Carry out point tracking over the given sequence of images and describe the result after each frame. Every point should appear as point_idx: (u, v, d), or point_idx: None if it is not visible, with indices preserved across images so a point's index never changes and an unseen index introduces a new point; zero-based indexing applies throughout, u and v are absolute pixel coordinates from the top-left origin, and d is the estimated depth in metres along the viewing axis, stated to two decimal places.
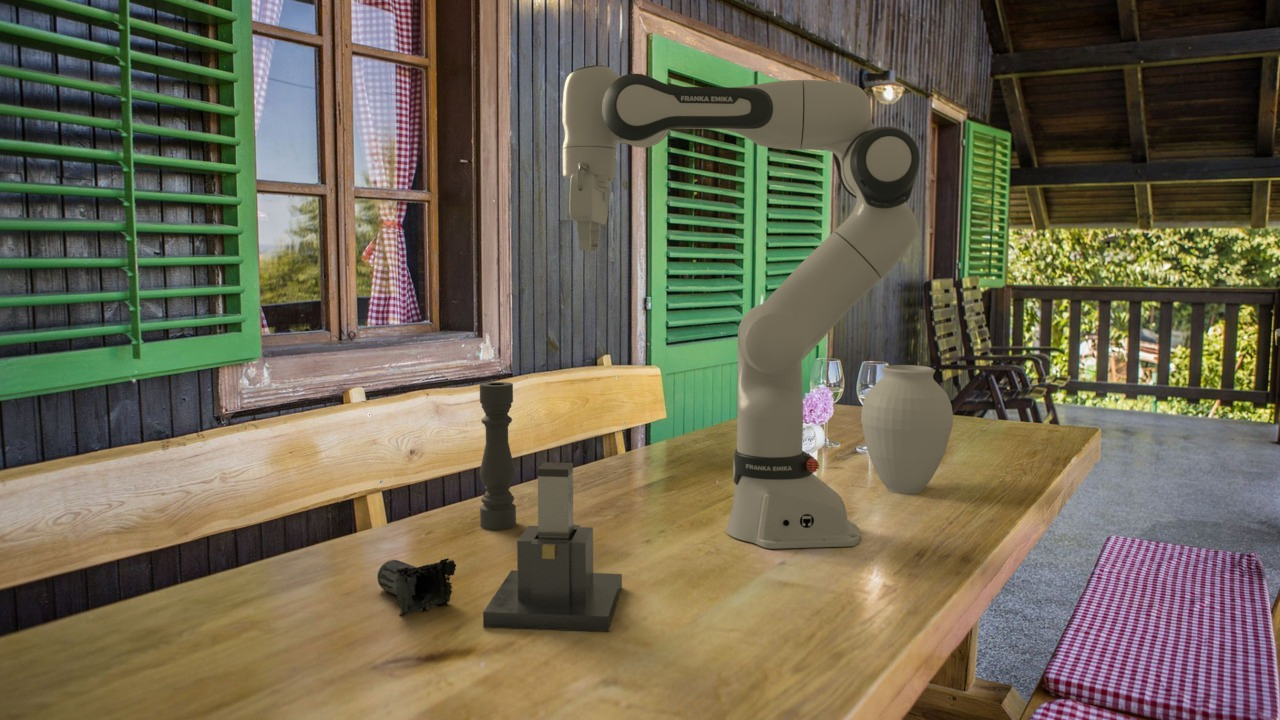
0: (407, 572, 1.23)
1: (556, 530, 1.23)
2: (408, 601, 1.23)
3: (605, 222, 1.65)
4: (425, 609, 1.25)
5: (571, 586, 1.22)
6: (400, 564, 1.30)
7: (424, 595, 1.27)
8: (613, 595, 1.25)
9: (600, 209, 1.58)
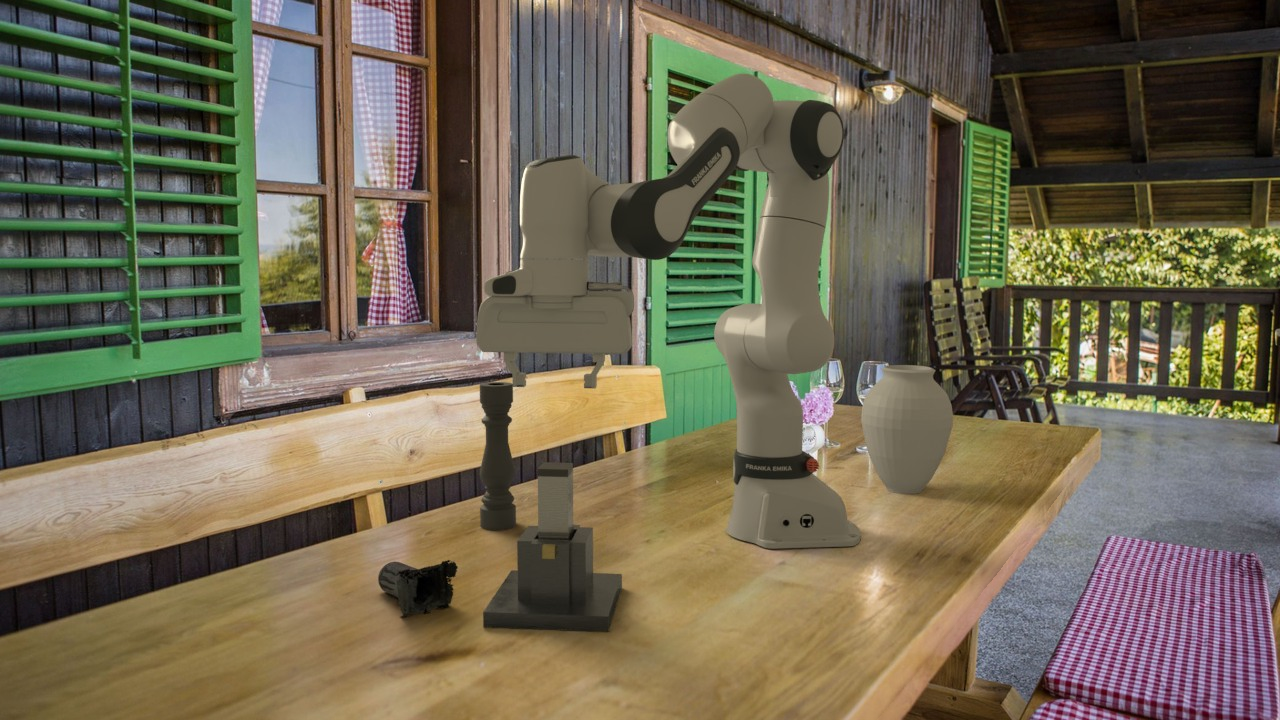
0: (408, 574, 1.22)
1: (556, 530, 1.23)
2: (409, 603, 1.23)
3: None
4: (426, 611, 1.24)
5: (571, 586, 1.22)
6: (401, 566, 1.29)
7: (425, 597, 1.26)
8: (613, 595, 1.25)
9: None
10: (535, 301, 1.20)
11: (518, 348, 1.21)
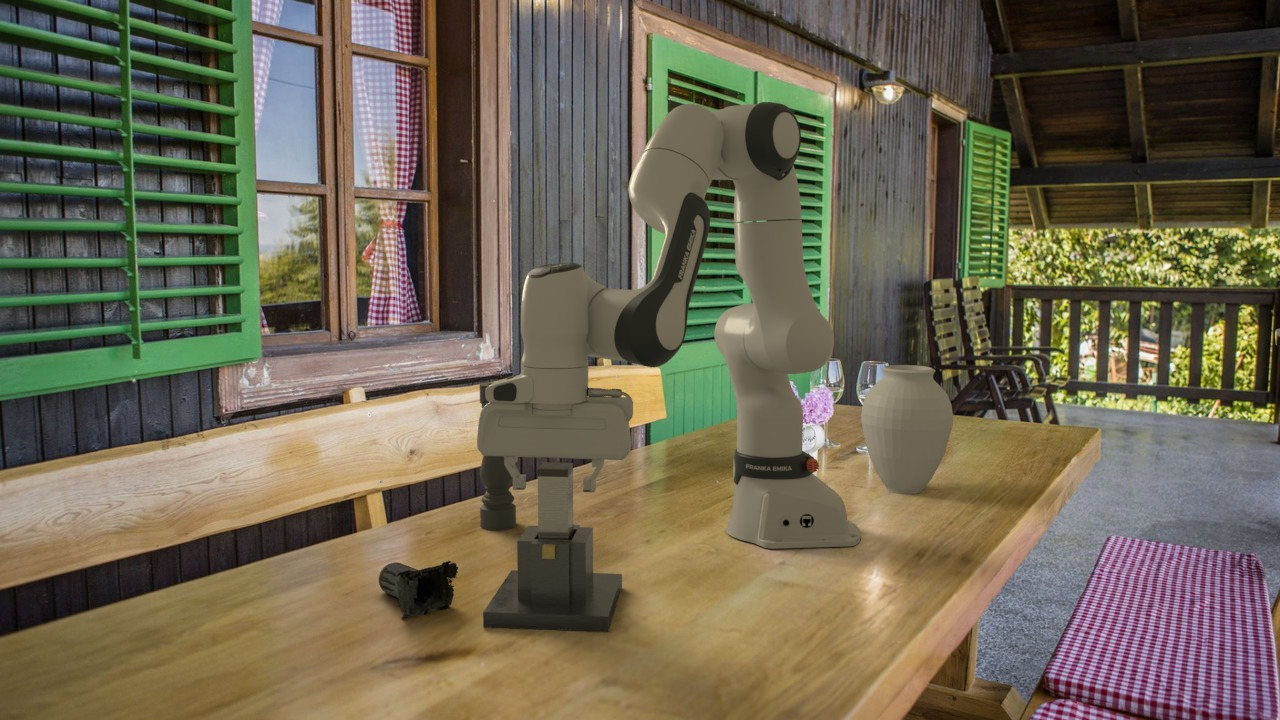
0: (409, 575, 1.22)
1: (556, 530, 1.23)
2: (410, 604, 1.22)
3: None
4: (427, 612, 1.24)
5: (571, 586, 1.22)
6: (401, 567, 1.29)
7: (426, 598, 1.26)
8: (613, 595, 1.25)
9: None
10: (535, 408, 1.21)
11: (518, 453, 1.23)
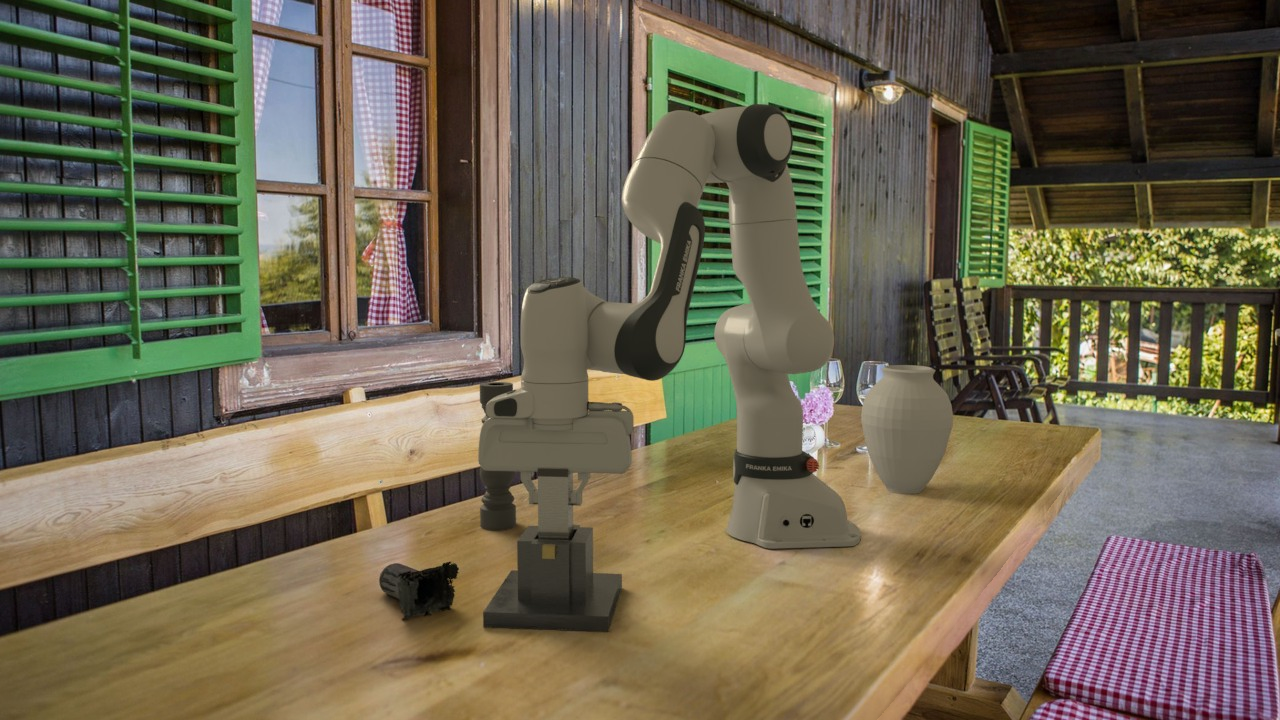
0: (409, 576, 1.22)
1: (556, 530, 1.23)
2: (410, 605, 1.22)
3: None
4: (428, 613, 1.23)
5: (571, 586, 1.22)
6: (402, 567, 1.29)
7: (426, 599, 1.26)
8: (613, 595, 1.25)
9: None
10: (536, 422, 1.22)
11: (519, 467, 1.23)
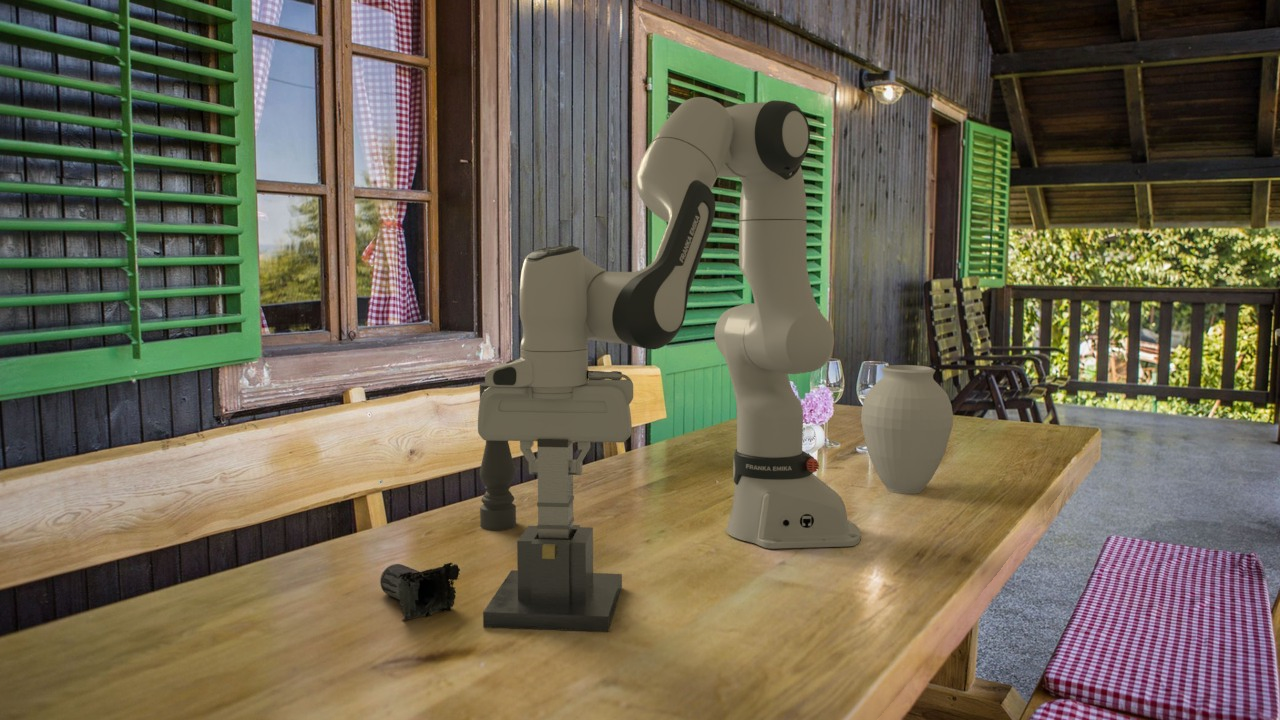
0: (410, 577, 1.21)
1: (556, 501, 1.23)
2: (411, 606, 1.22)
3: None
4: (428, 614, 1.23)
5: (571, 586, 1.22)
6: (403, 568, 1.28)
7: (427, 600, 1.25)
8: (613, 595, 1.25)
9: None
10: (535, 391, 1.21)
11: (519, 437, 1.23)
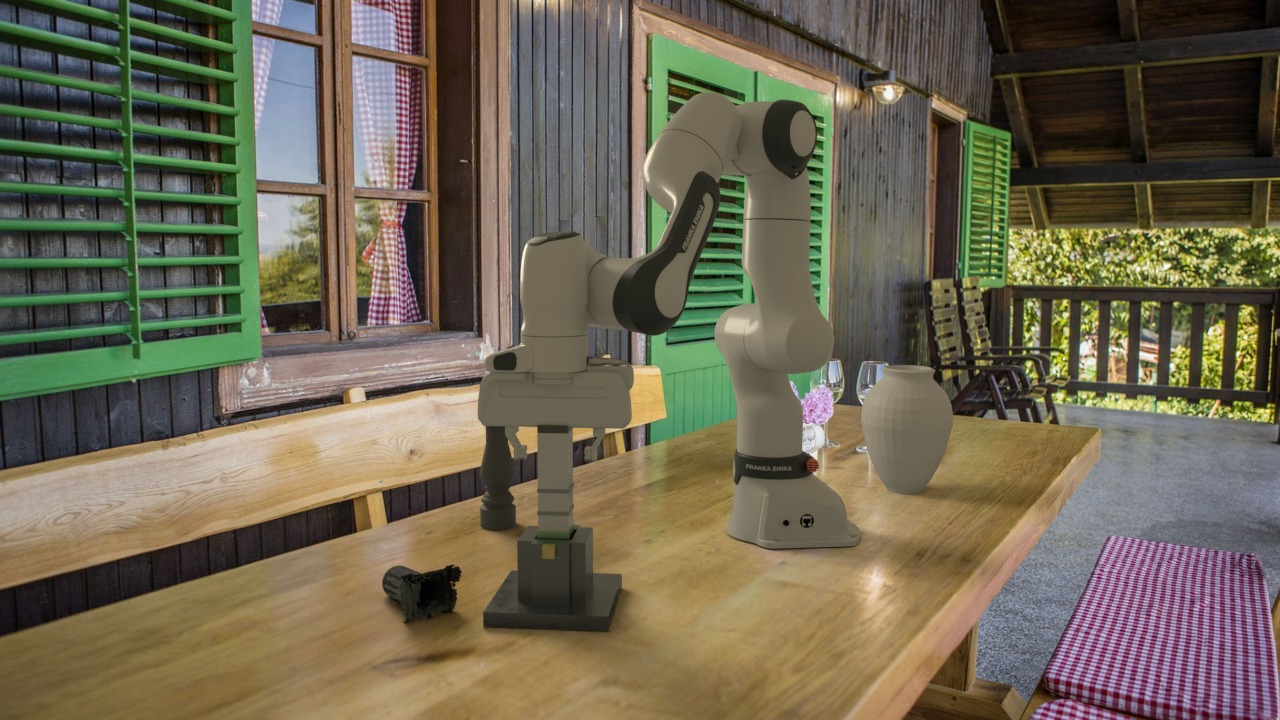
0: (411, 578, 1.21)
1: (556, 487, 1.23)
2: (412, 608, 1.21)
3: None
4: (430, 616, 1.22)
5: (571, 586, 1.22)
6: (405, 570, 1.28)
7: (429, 602, 1.25)
8: (613, 595, 1.25)
9: None
10: (536, 377, 1.21)
11: (519, 422, 1.22)
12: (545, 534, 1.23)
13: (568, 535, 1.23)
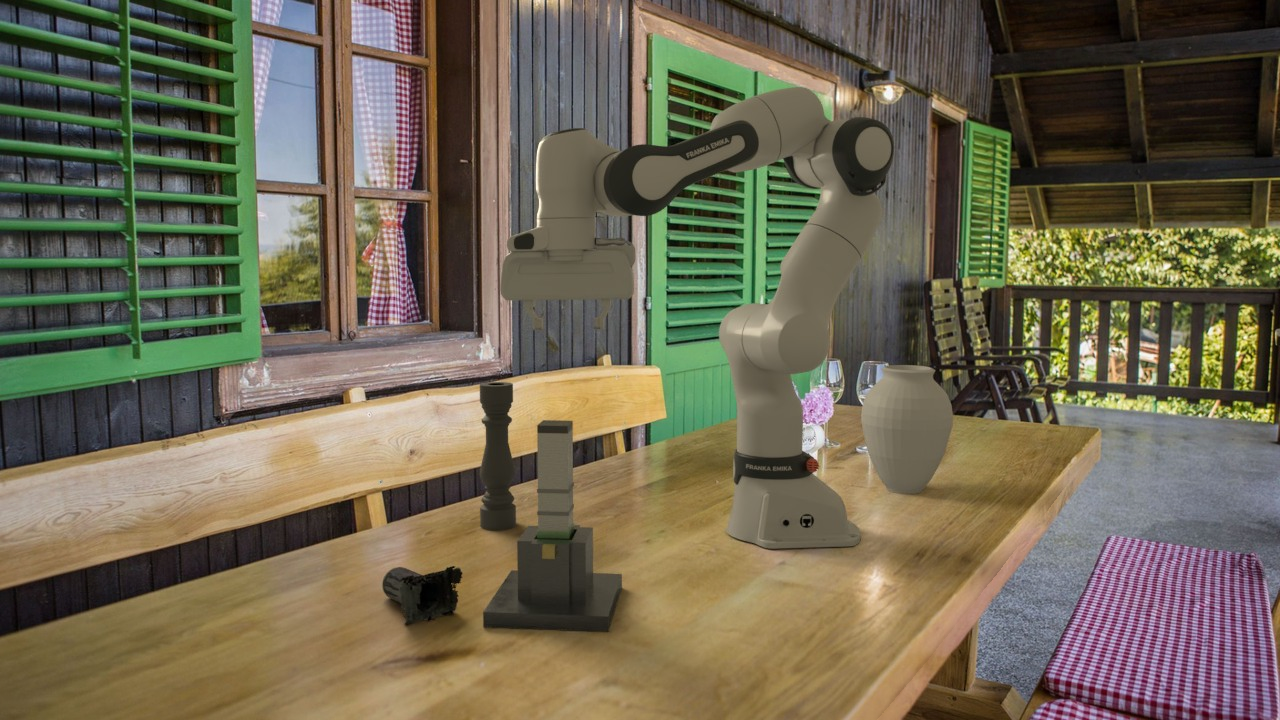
0: (412, 580, 1.20)
1: (556, 487, 1.23)
2: (413, 610, 1.20)
3: None
4: (430, 618, 1.22)
5: (571, 586, 1.22)
6: (405, 571, 1.27)
7: (430, 604, 1.24)
8: (613, 595, 1.25)
9: None
10: (551, 255, 1.40)
11: (537, 296, 1.41)
12: (545, 534, 1.23)
13: (568, 535, 1.23)
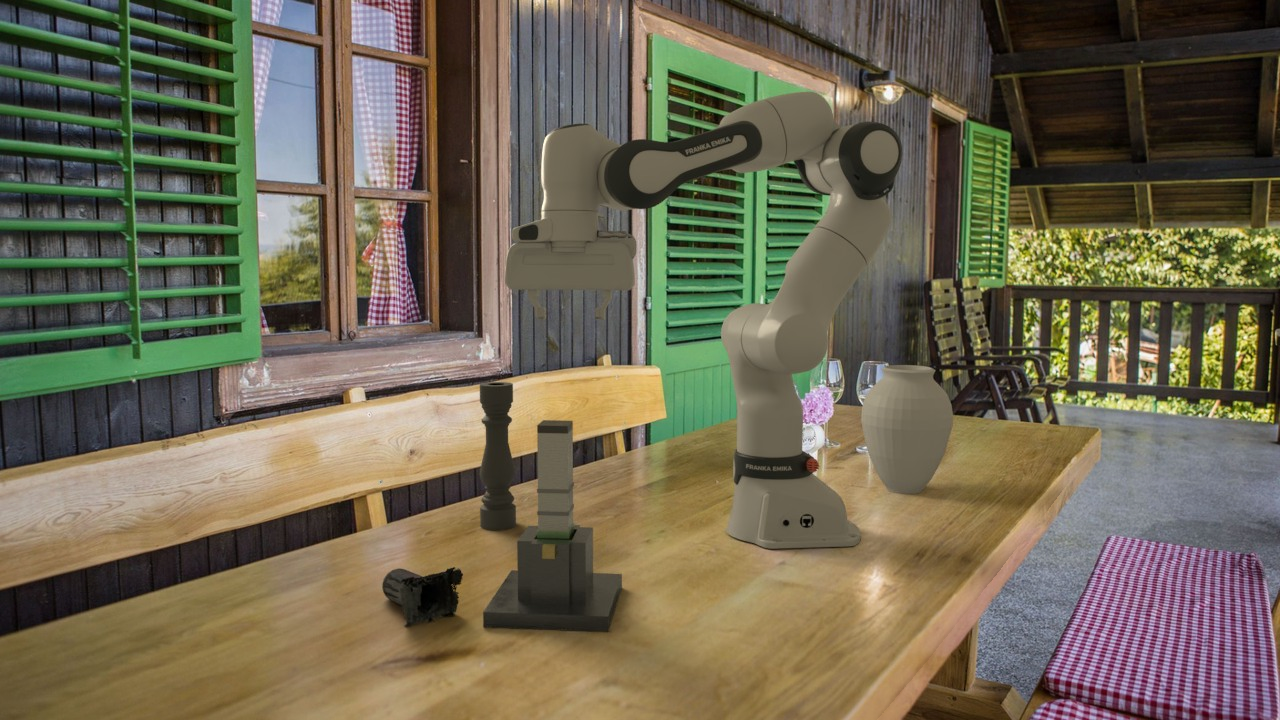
0: (412, 582, 1.19)
1: (556, 487, 1.23)
2: (413, 612, 1.20)
3: None
4: (431, 620, 1.21)
5: (571, 586, 1.22)
6: (405, 573, 1.26)
7: (430, 605, 1.24)
8: (613, 595, 1.25)
9: None
10: (554, 246, 1.44)
11: (540, 286, 1.45)
12: (545, 534, 1.23)
13: (568, 535, 1.23)
